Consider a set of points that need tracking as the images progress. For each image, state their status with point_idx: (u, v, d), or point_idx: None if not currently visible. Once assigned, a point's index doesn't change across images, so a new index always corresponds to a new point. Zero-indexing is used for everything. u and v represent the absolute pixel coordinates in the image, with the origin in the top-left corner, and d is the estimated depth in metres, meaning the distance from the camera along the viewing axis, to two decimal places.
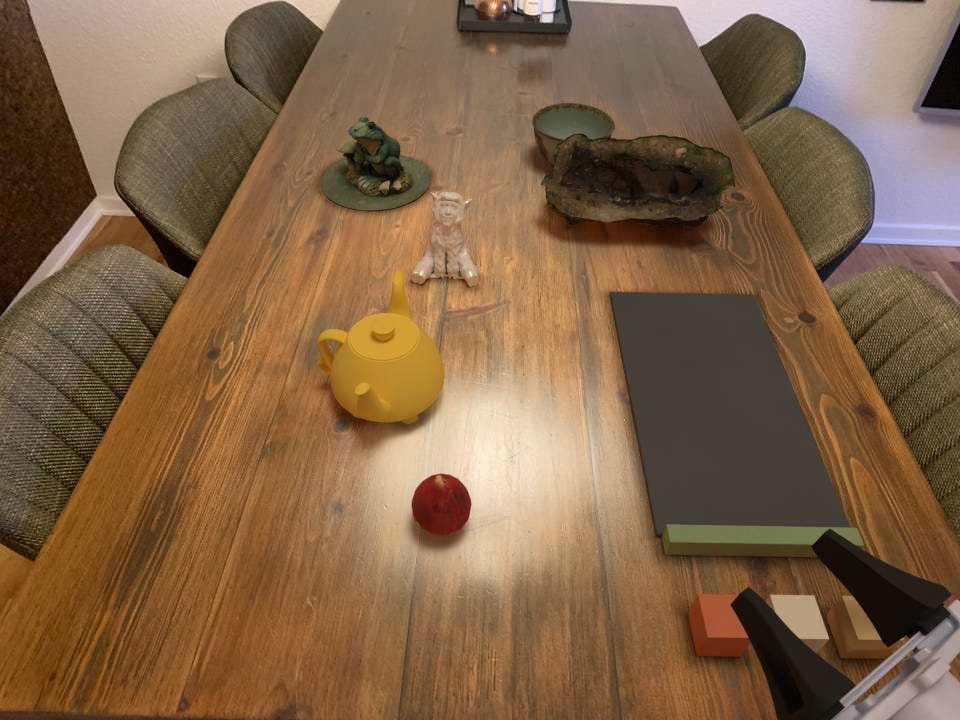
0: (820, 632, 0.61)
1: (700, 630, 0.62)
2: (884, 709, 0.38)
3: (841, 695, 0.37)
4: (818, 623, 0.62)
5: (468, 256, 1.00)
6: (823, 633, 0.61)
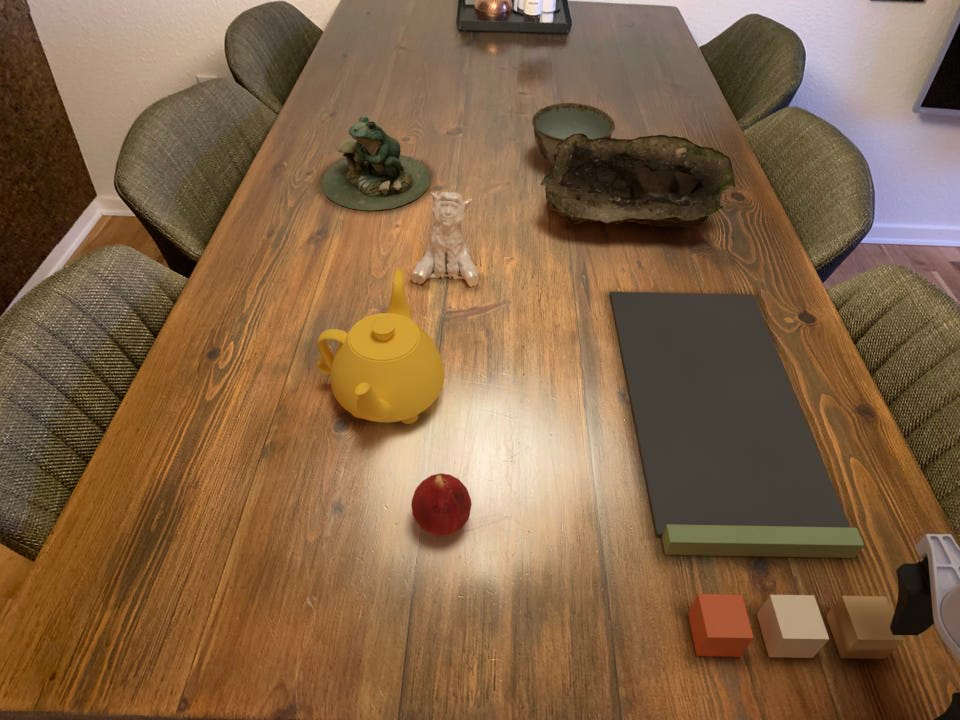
0: (820, 632, 0.61)
1: (700, 630, 0.62)
2: None
3: None
4: (818, 623, 0.62)
5: (468, 256, 1.00)
6: (823, 633, 0.61)
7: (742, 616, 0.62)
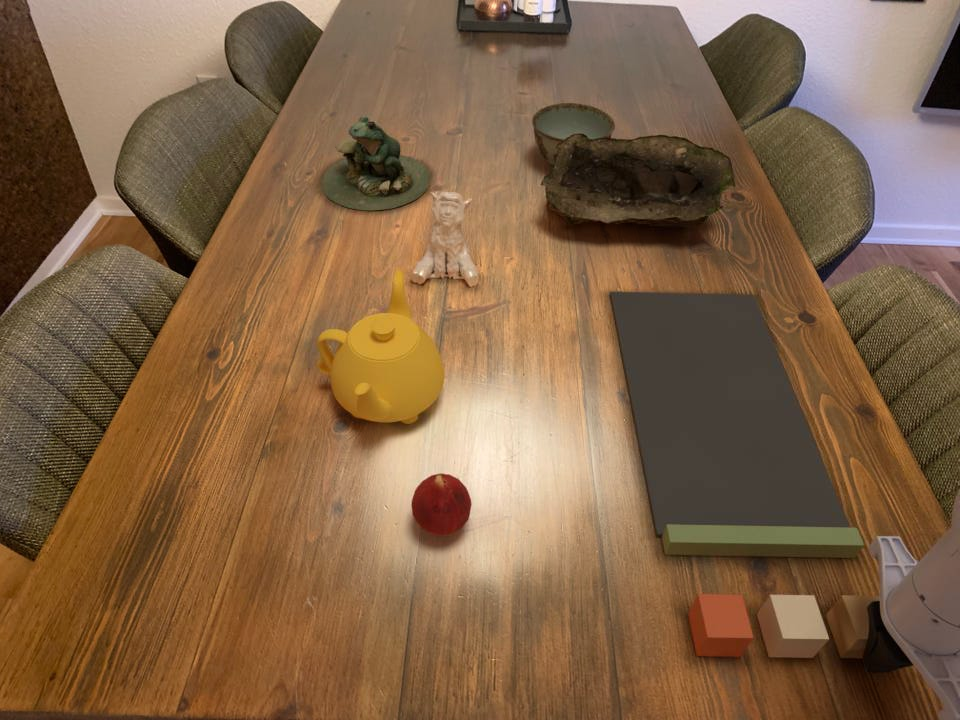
0: (820, 632, 0.61)
1: (700, 630, 0.62)
2: None
3: None
4: (818, 623, 0.62)
5: (468, 256, 1.00)
6: (823, 633, 0.61)
7: (742, 616, 0.62)
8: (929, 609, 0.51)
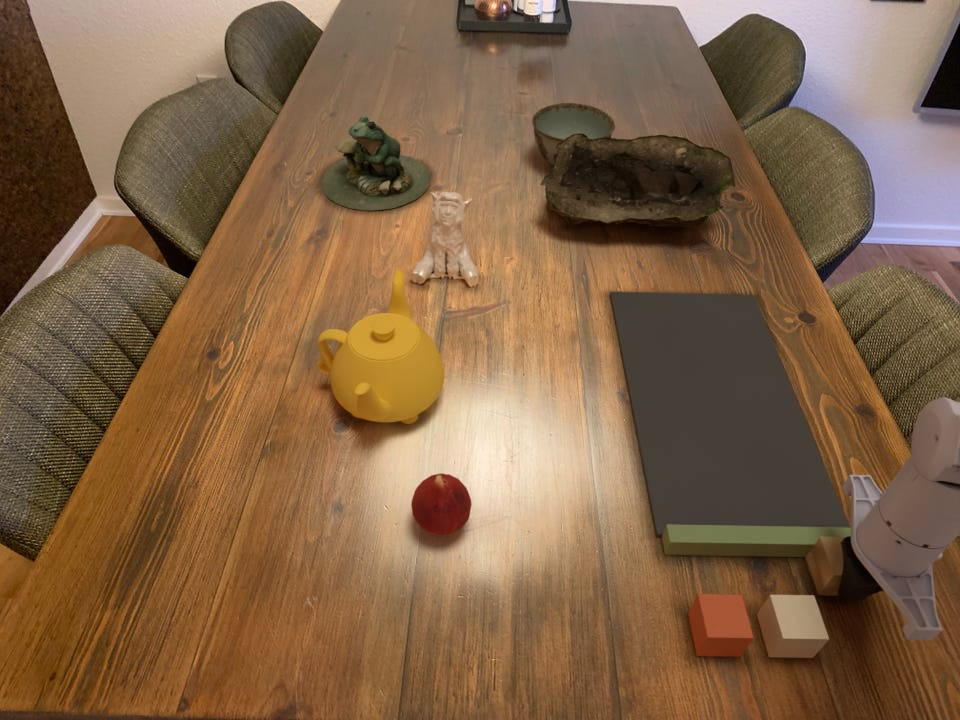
0: (820, 632, 0.61)
1: (700, 630, 0.62)
2: None
3: None
4: (818, 623, 0.62)
5: (468, 256, 1.00)
6: (823, 633, 0.61)
7: (742, 616, 0.62)
8: (893, 531, 0.55)
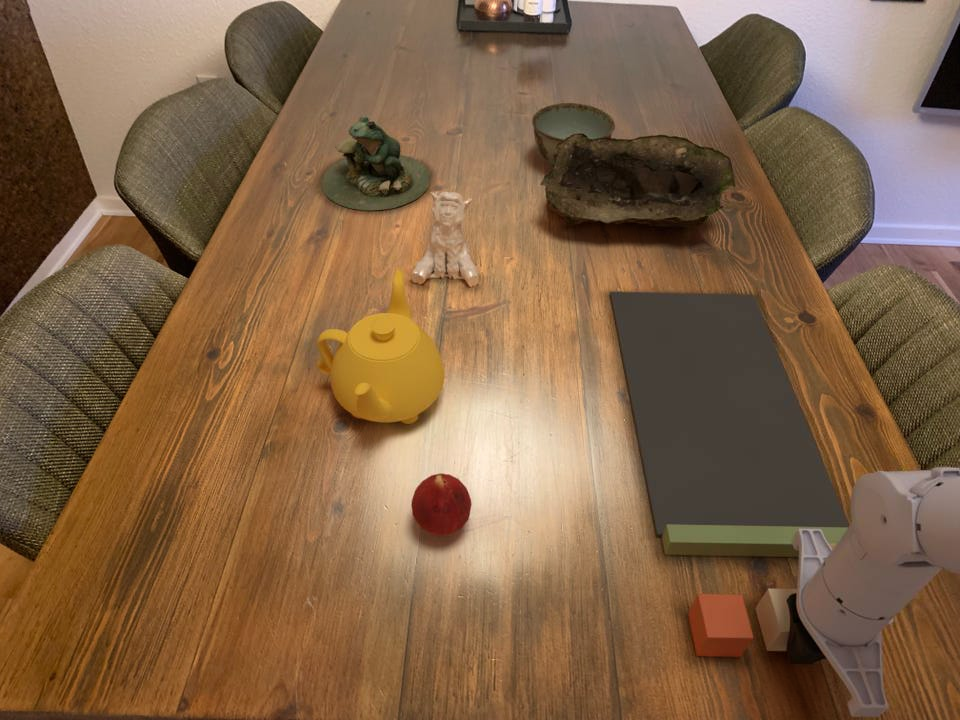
0: None
1: (700, 630, 0.62)
2: None
3: None
4: None
5: (468, 256, 1.00)
6: None
7: (742, 616, 0.62)
8: (836, 600, 0.51)
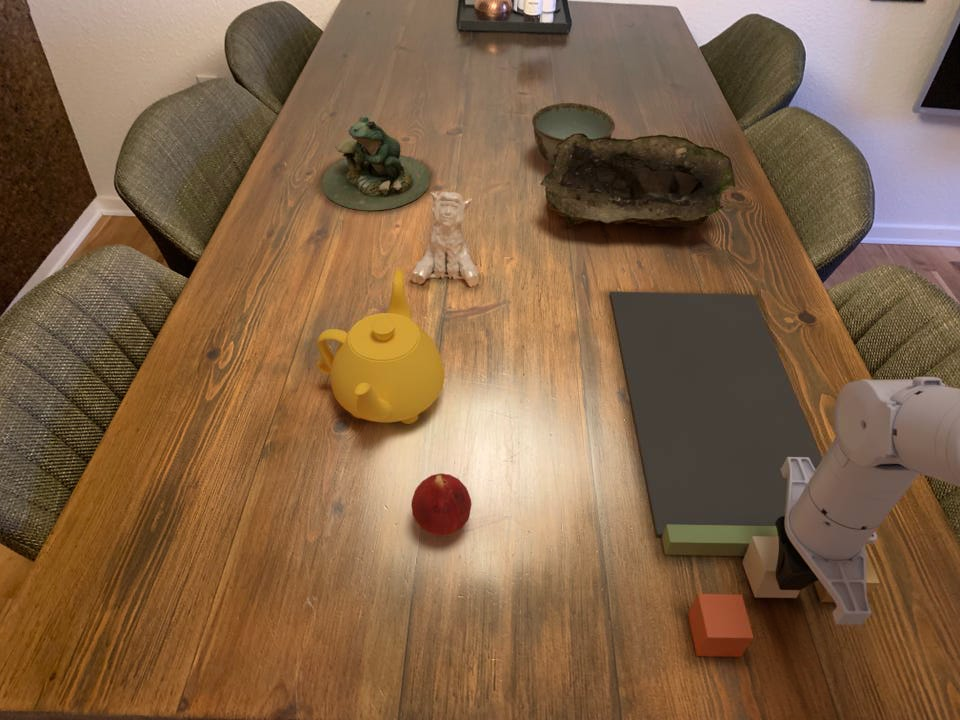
0: None
1: (700, 630, 0.62)
2: None
3: None
4: None
5: (468, 256, 1.00)
6: None
7: (742, 616, 0.62)
8: (821, 512, 0.54)
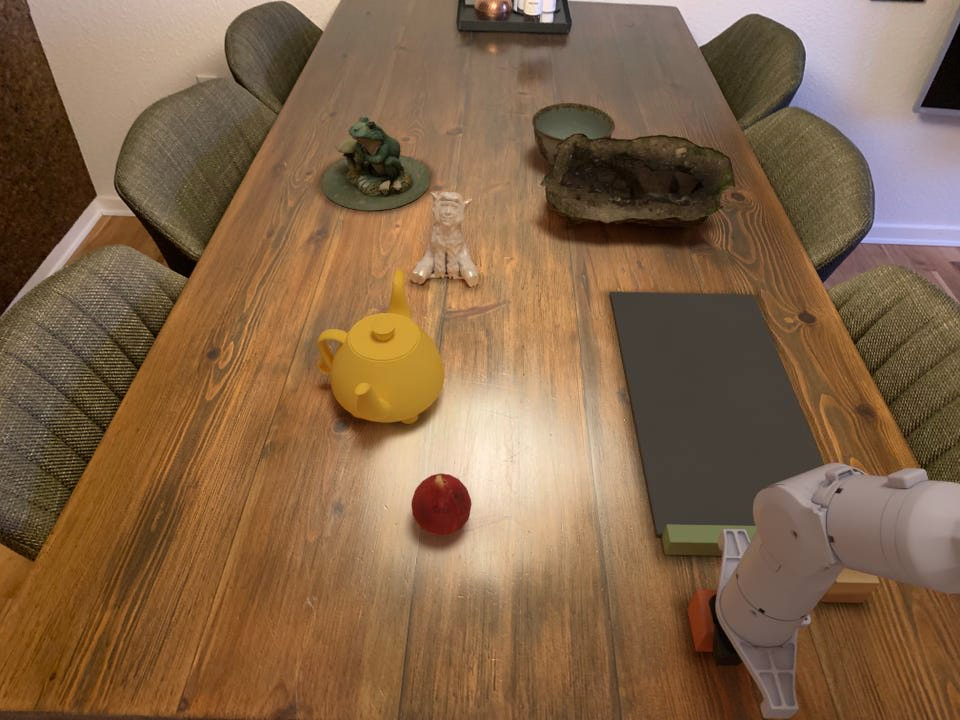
0: None
1: (699, 625, 0.63)
2: None
3: None
4: None
5: (468, 256, 1.00)
6: None
7: None
8: (747, 601, 0.51)
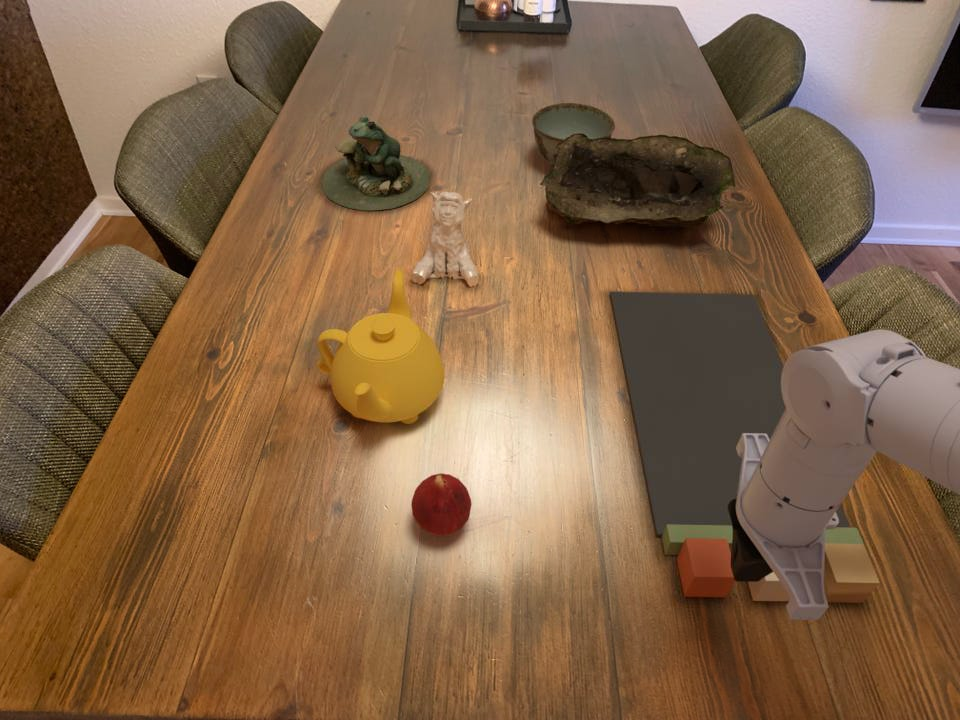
0: None
1: (687, 571, 0.66)
2: None
3: None
4: None
5: (468, 256, 1.00)
6: None
7: (727, 558, 0.66)
8: (772, 492, 0.47)
